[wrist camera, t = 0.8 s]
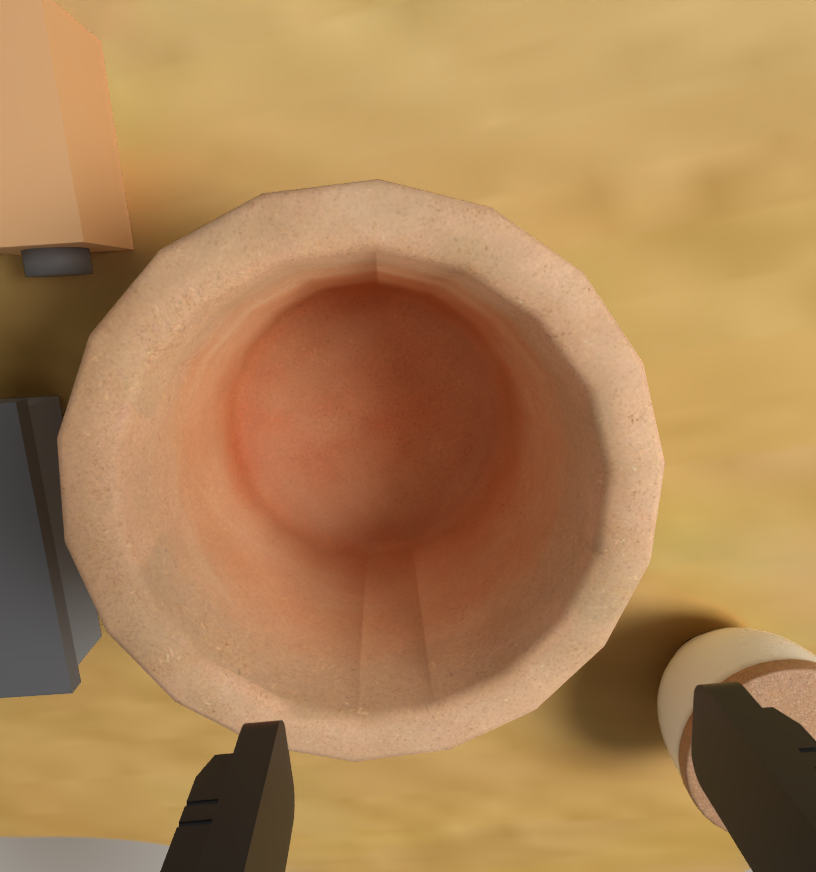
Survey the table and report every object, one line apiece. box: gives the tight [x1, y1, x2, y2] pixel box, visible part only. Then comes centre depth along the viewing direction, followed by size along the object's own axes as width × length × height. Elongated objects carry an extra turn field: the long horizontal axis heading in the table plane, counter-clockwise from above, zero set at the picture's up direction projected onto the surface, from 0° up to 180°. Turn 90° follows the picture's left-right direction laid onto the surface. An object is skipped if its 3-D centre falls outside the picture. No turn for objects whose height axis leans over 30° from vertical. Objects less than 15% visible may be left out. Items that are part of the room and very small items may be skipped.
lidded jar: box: [657, 627, 816, 831], centre depth 37 cm, size 11×11×9 cm
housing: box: [0, 0, 134, 277], centre depth 30 cm, size 11×6×6 cm, turn 4°
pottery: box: [57, 179, 665, 762], centre depth 30 cm, size 22×22×14 cm
